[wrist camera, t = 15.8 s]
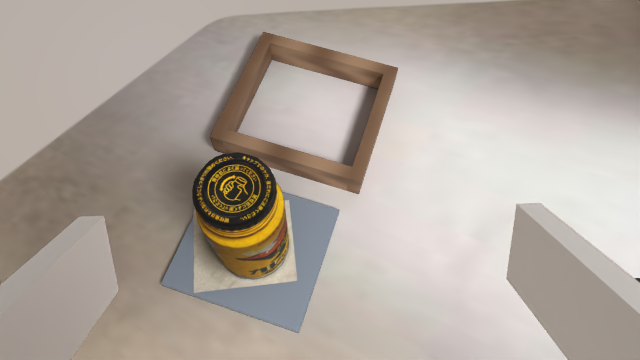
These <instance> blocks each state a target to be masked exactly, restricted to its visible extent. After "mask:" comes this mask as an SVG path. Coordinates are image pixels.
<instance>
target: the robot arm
mask: <svg viewBox="0 0 640 360" xmlns="http://www.w3.org/2000/svg"><path fill="white" fill-rule="evenodd" d="M506 279H507V280H508V281H509V283H510V284H511V285H512V287H513V288H514V289H515V291H516V292H517V293H518V295H519V296H520V297H521V298H522V300H523V301H524V302H525V304H526V305H527V306H528V308H529V309H530V310H531V312H532V313H533V314H534V316H535V317H536V318H537V320H538V321H539V322H540V324H541V325H542V326H543V328H544V329H545V330H546V331H547V333H548V334H549V335H550V337H551V338H552V339H553V341H554V342H555V343H556V345H557V346H558V347H559V349H560V350H561V351H562V353H563V354H564V355H565V357H566V358H567V359H568V360H640V278H633V277H632V276H631V275H630V274H628V273H627V272H626V271H625V270H623V269H622V268H621V267H620V266H618V265H617V264H616V263H615V262H613V261H612V260H611V259H610V258H608V257H607V256H606V255H605V254H603V253H602V252H601V251H600V250H598V249H597V248H596V247H595V246H593V245H592V244H591V243H590V242H588V241H587V240H586V239H585V238H583V237H582V236H581V235H580V234H578V233H577V232H576V231H575V230H573V229H572V228H571V227H570V226H568V225H567V224H566V223H565V222H563V221H562V220H561V219H560V218H558V217H557V216H556V215H554V214H553V213H552V212H551V211H549V210H548V209H547V208H546V207H544V206H543V205H542V204H541V203H531V204H517V205H516V212H515V220H514V227H513V234H512V241H511V249H510V256H509V263H508V271H507V278H506ZM118 291H119V289H118V284H117V279H116V274H115V269H114V264H113V259H112V254H111V249H110V244H109V239H108V234H107V229H106V224H105V219H104V216H79V217H78V218H77V219H76V220H75V221H74V222H72V223H71V224H70V225H69V226H68V227H67V228H65V229H64V230H63V231H62V232H61V233H60V234H59V235H57V236H56V237H55V238H54V239H53V240H52V241H50V242H49V243H48V244H47V245H46V246H45V247H43V248H42V249H41V250H40V251H39V252H38V253H36V254H35V255H34V256H33V257H32V258H31V259H30V260H28V261H27V262H26V263H25V264H24V265H23V266H21V267H20V268H19V269H18V270H17V271H16V272H14V273H13V274H12V275H11V276H10V277H9V278H8V279H6V280H5V281H4V282H3V283H2V284H1V285H0V360H71V358H72V357H73V356H74V354H75V353H76V351H77V350H78V348H79V347H80V346H81V344H82V343H83V341H84V340H85V338H86V337H87V336H88V334H89V333H90V331H91V330H92V328H93V327H94V326H95V324H96V323H97V321H98V320H99V318H100V317H101V316H102V314H103V313H104V311H105V310H106V308H107V307H108V306H109V304H110V303H111V301H112V300H113V298H114V297H115V295H116V294H117V293H118Z"/></svg>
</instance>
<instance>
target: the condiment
mask: <svg viewBox="0 0 640 360" xmlns="http://www.w3.org/2000/svg"><path fill="white" fill-rule="evenodd" d="M192 193H193V196H192V197H193V204H194V206H195V209H193V227H194V293H197V292H205V291H214V290H222V289H230V288H239V287H250V286H258V285H267V284H275V283H283V282H291V281H297V272H296V262H295V252H294V243H293V233H292V223H291V214H290V204H289V200H284V197H283V194H282V191H281V188H280V187H279V185H278V184H277V183H276V181H275V178H274V175H273V174H272V172H271V170H270V168H269V167H267V165H266V164H265V163H263V162H262V161H261V160H260V159H258V158H257V157H255V156H252V155H248V154H245V153H240V152H234V153H228V154H222V155H220V156H217V157H215V158H213V159H212V160H210V161H209V162H208V163H207V164H206V165H205V166H204V168H203V169H202V170H201V171H200V172H199V174H198V176H197V177H196V179H195V181H194V185H193V190H192ZM217 263H218V264H219V265H218V264H217ZM222 266H223V267H222Z"/></svg>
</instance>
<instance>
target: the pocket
mask: <svg viewBox="0 0 640 360" xmlns="http://www.w3.org/2000/svg"><path fill="white" fill-rule="evenodd" d="M272 60H275V61H278V62H282V63H286V64H289V65H293V66H297V67H300V68H304V69H308V70H311V71H315V72H318V73H322V74H326V75H329V76H333V77H337V78H340V79H344V80H347V81H351V82H355V83H358V84H362V85H366V86H369V87H373V88H377V89H378V92H377V95H376V98H375V101H374V104H373V107H372V110H371V113H370V116H369V119H368V122H367V125H366V128H365V131H364V134H363V137H362V140H361V143H360V146H359V149H358V152H357V155H356V158H355V161H354V164H353V167H351V166H347V165H344V164H341V163H337V162H334V161H331V160H327V159H324V158H320V157H317V156H314V155H310V154H307V153H304V152H300V151H297V150H294V149H290V148H287V147H284V146H280V145H277V144H274V143H270V142H267V141H263V140H260V139H257V138H253V137H250V136H247V135H243V134H240V133H237V131H238V129H239V127H240V125H241V123H242V121H243V119H244V116H245V114H246V112H247V110H248V108H249V106H250V104H251V102H252V100H253V98H254V96H255V94H256V92H257V90H258V87H259V85H260V83H261V81H262V79H263V77H264V75H265V73H266V71H267V69H268V67H269V65H270V63H271V61H272ZM397 71H398V68H397V67H393V66H389V65H385V64H382V63H378V62H374V61H370V60H367V59H363V58H359V57H355V56H352V55H348V54H344V53H341V52H337V51H333V50H329V49H326V48H322V47H318V46H314V45H311V44H307V43H303V42H300V41H296V40H292V39H288V38H285V37H281V36H277V35H273V34H270V33H266V32H263V34H262V36H261V37H260V39H259V41H258V43H257V45H256V47H255V49H254V51H253V53H252V55H251V57H250V59H249V61H248V63H247V65H246V67H245V69H244V71H243V73H242V75H241V77H240V79H239V80H238V82H237V84H236V86H235V88H234V90H233V92H232V94H231V96H230V98H229V100H228V102H227V104H226V106H225V108H224V110H223V112H222V114H221V116H220V118H219V120H218V121H217V123H216V125H215V127H214V129H213V131H212V133H211V135H210V139H211V141H212V144H213V147H214V149H215V150H216V151H219V152H222V153H225V154H228V153H234V152H240V153H245V154H248V155H252V156H255V157H257V158H258V159H260V160H261V161H262V162H263V163H265V164H266V165H267V166H268V167H271V168H275V169H278V170H281V171H284V172H288V173H291V174H294V175H298V176H301V177H304V178H307V179H311V180H314V181H317V182H320V183H324V184H327V185H330V186H334V187H337V188H340V189H343V190H347V191H350V192H353V193H357V194H359V192H360V189H361V186H362V183H363V179H364V176H365V173H366V170H367V167H368V164H369V161H370V157H371V154H372V151H373V148H374V145H375V142H376V139H377V136H378V132H379V129H380V126H381V123H382V120H383V117H384V114H385V110H386V107H387V104H388V101H389V98H390V95H391V92H392V88H393V85H394V82H395V78H396V74H397Z"/></svg>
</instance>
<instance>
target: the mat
mask: <svg viewBox="0 0 640 360" xmlns="http://www.w3.org/2000/svg"><path fill="white" fill-rule="evenodd" d="M282 194H283V197H284V200H289V204H290V214H291V223H292V233H293V243H294V252H295V262H296V272H297V281H291V282H283V283H275V284H267V285H258V286H250V287H239V288H230V289H222V290H214V291H205V292H197V293H194V227H193V218H192V221H191V223H190V225H189V227H188V229H187V231H186V233H185V235H184V237H183V239H182V241H181V243H180V245H179V247H178V249H177V251H176V253H175V255H174V258H173V260H172V262H171V264H170V266H169V268H168V270H167V272H166V274H165V276H164V278H163V280H162V282H161V285H162V286H165V287H168V288H170V289H173V290H176V291H179V292H182V293H185V294H188V295H190V296H193V297H196V298H199V299H202V300H205V301H208V302H211V303H213V304H216V305H219V306H222V307H225V308H228V309H231V310H233V311H236V312H239V313H242V314H245V315H248V316H251V317H254V318H256V319H259V320H262V321H265V322H268V323H271V324H274V325H276V326H279V327H282V328H285V329H288V330H291V331H294V332H297V333H299V331H300V328H301V325H302V322H303V319H304V316H305V313H306V310H307V307H308V304H309V301H310V298H311V295H312V292H313V289H314V286H315V283H316V280H317V277H318V274H319V271H320V268H321V265H322V262H323V259H324V256H325V253H326V250H327V247H328V244H329V241H330V238H331V235H332V232H333V229H334V226H335V223H336V220H337V217H338V214H339V209H335V208H332V207H329V206H326V205H322V204H319V203H316V202H313V201H310V200H306V199H303V198H300V197H297V196H294V195H290V194H287V193H284V192H282ZM217 264H218V263H217ZM218 265H219V264H218ZM222 267H223V266H222Z"/></svg>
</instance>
